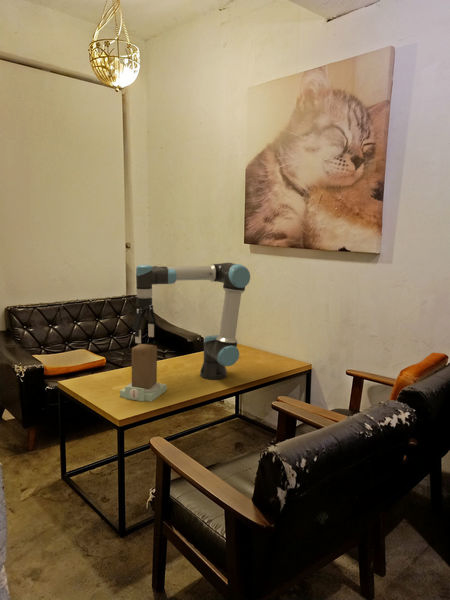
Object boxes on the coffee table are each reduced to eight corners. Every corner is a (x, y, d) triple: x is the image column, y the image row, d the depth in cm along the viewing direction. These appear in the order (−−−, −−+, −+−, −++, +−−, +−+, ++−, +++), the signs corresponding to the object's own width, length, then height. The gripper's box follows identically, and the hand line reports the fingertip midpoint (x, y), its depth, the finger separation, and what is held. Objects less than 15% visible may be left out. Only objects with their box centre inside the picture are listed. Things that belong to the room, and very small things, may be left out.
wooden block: (150, 389, 221) (150, 349, 218) (130, 387, 223) (130, 348, 220) (157, 383, 231) (157, 344, 228) (138, 381, 233) (138, 343, 230)
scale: (166, 390, 233) (166, 378, 232) (149, 402, 215) (149, 390, 214) (136, 385, 238) (136, 374, 237) (118, 397, 220) (118, 386, 219)
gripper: (149, 293, 233) (149, 333, 236) (124, 300, 209) (125, 345, 213) (162, 294, 231) (162, 334, 234) (138, 301, 207) (139, 346, 211)
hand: (144, 339), depth 223 cm, fingers open, 13 cm apart
